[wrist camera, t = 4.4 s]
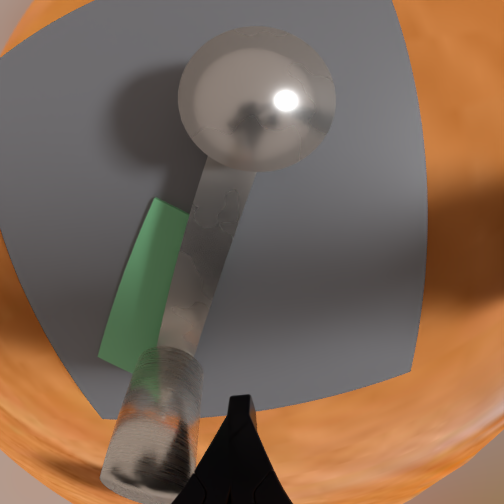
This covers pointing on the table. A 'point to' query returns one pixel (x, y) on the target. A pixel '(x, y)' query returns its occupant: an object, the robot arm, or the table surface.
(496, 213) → the table surface
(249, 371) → the board
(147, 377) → the lever
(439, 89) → the table surface
